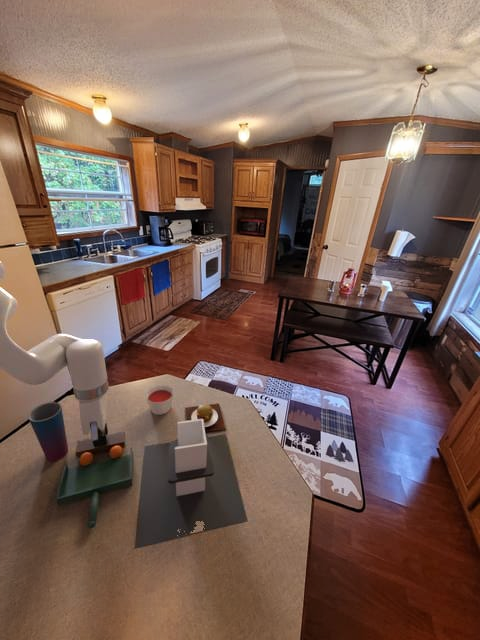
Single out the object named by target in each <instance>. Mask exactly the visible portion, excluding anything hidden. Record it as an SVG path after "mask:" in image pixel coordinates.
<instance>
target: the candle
mask: <svg viewBox="0 0 480 640" xmlns="http://www.w3.org/2000/svg"><path fill="white" fill-rule="evenodd" d="M174 394H175V391H174V389H173V387H172V386H169V385H166V384H160V385H155V386H153V387H150V388H149V389H148V390H147V392H146V393H145V397H146V401H147V404H148V407H149V409H150V412H151V413H152V414H154V415H157V416H158V415H160V416H161V415H165V414H167V413H169V411H170V410H171V408H172V404H173V400H174Z"/></svg>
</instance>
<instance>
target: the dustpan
mask: <svg viewBox="0 0 480 640" xmlns="http://www.w3.org/2000/svg"><path fill="white" fill-rule="evenodd" d="M133 453H134V452H133V447H130V448H129V454H127V455H121V456H120V457H118V458H115V459H114V458H110V459H105V460H101V461H98V462H92V463H90V464H89V465H87V466H82V465H81V466H77V467H72V468H69V465H68V463H67V462H65V463H64V466H63V470H62V474H61V477H60V481H59V484H58V489H57V492H56V496H55V503H56V505H57V507H61V506H65V505H67V504H71V503H75V502H78V501H82V500H85V499H89V498H91V499H90V505H89V512H88V517H87V518H88V519H87V528H88V529H90V530H91V529H94V528H95V527H96V525H97V520H98V510H99V502H100V495H103V494H106V493H110V492H114V491H117V490H121V489H125V488H127V487H131V486H133V478H134V477H133V476H134V475H133V472H134V470H133V469H134V468H133V467H134V466H133V464H134V460H133V459H134V454H133Z"/></svg>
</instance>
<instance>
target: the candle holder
mask: <svg viewBox="0 0 480 640" xmlns="http://www.w3.org/2000/svg"><path fill="white" fill-rule="evenodd" d="M141 469H142V470H141V480H140V488H139V489H140V490H139V500H138V509H137V518H136V519H137V520H136V527H135V528H136V529H135V538H134V549H138V548H141V547H146V546H150V545H154V544H159V543H162V542H166V541H170V540H174V539H178V538H182V537H187V536H191V535H192V534H190V532H191V531H192V532H193V530H195V529H194V527H196V526H197V525H196V524H195V523H196V521H200V522H201V521H203V522H204V524H205V525H203V526H204V528H205V529H204V528H203V530H204V531H203V532H207V531H211V530H215V529H220V528H225V527H228V526H232V525H235V524H239V523H244V522H247V521H248V517H247V514H246V513H247V512H246V510H245V505H244V501H243V498H242V494H241V490H240V487H239V486H240V485H239V481H238V478H237V473H236V469H235V465H234V461H233V457H232V453H231V449H230V445H229V441H228V437H227V434H226V433H224V434H218V435H210V436H208V435H207V433H205V428H204V422H203V419H197V420H189V421H186V420H182V421H177V438H176V439H174V440H171V441H170V442H163V443H156V444H150V445H144V448H143V460H142V468H141ZM178 529H179V531H180V533H179V532H178V531H177V530H178ZM180 529H181V530H180ZM184 531H185V532H184ZM186 534H187V535H186ZM177 535H178V536H179V537H178V536H177ZM177 537H178V538H177Z"/></svg>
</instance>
